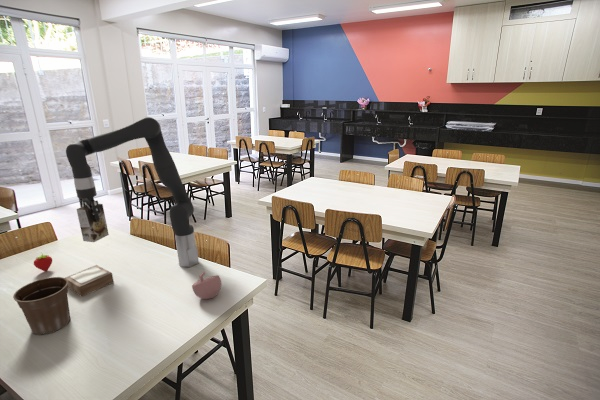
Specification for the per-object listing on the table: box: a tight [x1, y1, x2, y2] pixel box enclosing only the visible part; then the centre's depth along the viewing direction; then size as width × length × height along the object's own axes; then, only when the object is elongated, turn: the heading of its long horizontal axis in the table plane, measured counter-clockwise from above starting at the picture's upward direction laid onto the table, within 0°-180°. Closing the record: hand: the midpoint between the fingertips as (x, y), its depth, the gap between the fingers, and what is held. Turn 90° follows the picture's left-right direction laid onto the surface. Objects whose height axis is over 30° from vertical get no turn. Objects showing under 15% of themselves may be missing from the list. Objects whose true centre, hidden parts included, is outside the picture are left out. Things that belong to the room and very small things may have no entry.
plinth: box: [64, 264, 115, 298], centre depth 152 cm, size 14×14×5 cm
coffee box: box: [76, 203, 110, 243], centre depth 154 cm, size 9×6×16 cm
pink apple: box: [191, 271, 222, 300], centre depth 140 cm, size 12×12×12 cm
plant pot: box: [12, 276, 71, 336], centre depth 124 cm, size 16×16×16 cm
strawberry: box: [33, 253, 53, 272], centre depth 164 cm, size 6×8×10 cm
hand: (92, 219), depth 154 cm, fingers closed on coffee box, 8 cm apart
